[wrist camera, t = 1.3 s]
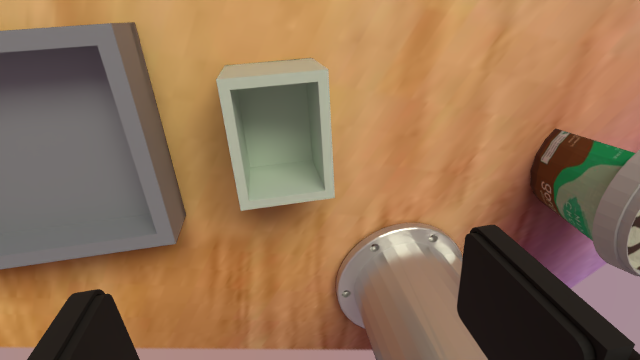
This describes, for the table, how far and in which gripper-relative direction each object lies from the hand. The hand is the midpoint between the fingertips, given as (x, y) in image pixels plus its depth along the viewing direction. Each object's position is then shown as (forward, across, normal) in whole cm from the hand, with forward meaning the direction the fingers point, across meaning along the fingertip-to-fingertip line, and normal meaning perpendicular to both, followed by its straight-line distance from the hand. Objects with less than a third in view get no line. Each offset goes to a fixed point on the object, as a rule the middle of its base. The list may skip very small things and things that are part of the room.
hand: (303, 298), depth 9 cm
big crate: (+18, +16, 0) cm, 24 cm away
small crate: (+18, 0, 0) cm, 18 cm away
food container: (+19, -25, +9) cm, 33 cm away
